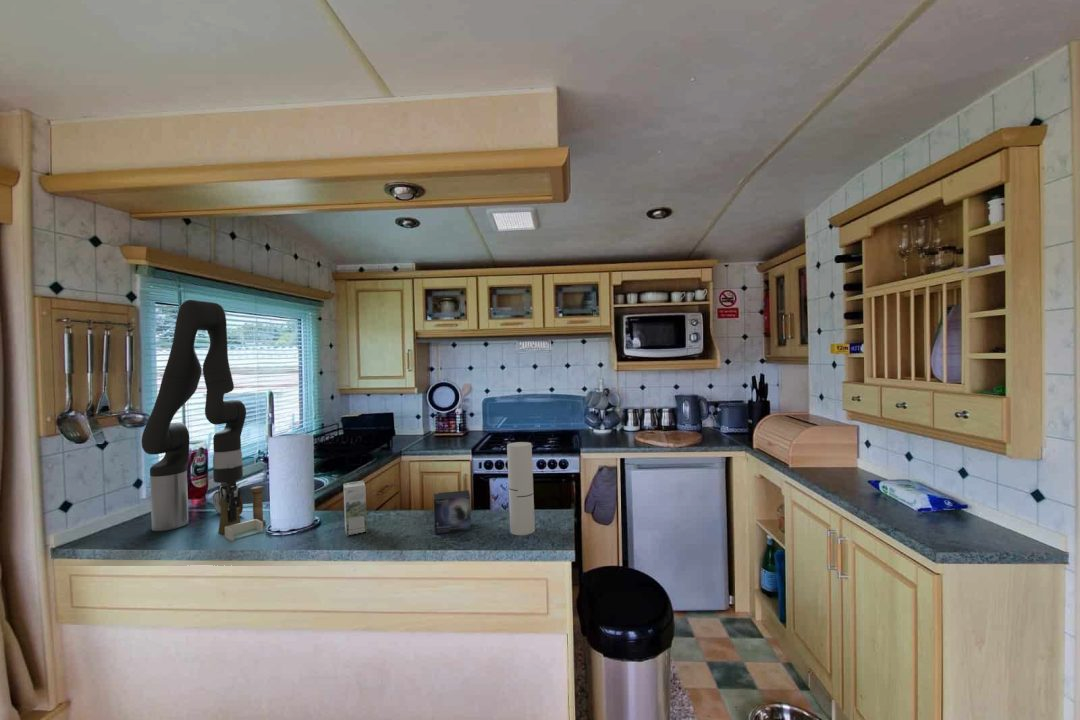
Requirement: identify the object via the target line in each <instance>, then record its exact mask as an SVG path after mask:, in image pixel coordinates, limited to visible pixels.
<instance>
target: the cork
mask: <svg viewBox="0 0 1080 720" xmlns="http://www.w3.org/2000/svg"><path fill="white" fill-rule="evenodd" d="M227 499H228V500H229V499H230V498H227ZM233 504H235V502H233V503H232V505H233ZM219 505H220V506H221V514H219V524H218V525H219V526H218V530H217V531H218V534H220V535H225V527H226V526H230V525H234V524H238V523H242V522H241V517H240V515H239V511H238V508H236V513H237V520H236V521H234V522H228V515H227V503H225V501H224V496H222V497H221V498H220V499H219Z"/></svg>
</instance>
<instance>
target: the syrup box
mask: <svg viewBox="0 0 1080 720" xmlns="http://www.w3.org/2000/svg"><path fill="white" fill-rule="evenodd" d="M366 489H367V488H366V484H365V482H364V480H359V481H352V482H351V481H350V482H344V483H343V511H344V512H343V514H344V517H343V519H344V531H345V535H346V537H350V536H349V535H351V536H355V535H354V534H356V535H359V534H358V533H361V534H364V533H363V532H366V533H368V530H367V529H368V527H367V524H368V523H367V522H368V521H367V493H366V492H367V490H366Z"/></svg>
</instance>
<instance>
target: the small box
mask: <svg viewBox="0 0 1080 720" xmlns="http://www.w3.org/2000/svg"><path fill="white" fill-rule="evenodd" d="M433 511H434V512H433V515H434V520H433V521H434V535H445V534H452V533H461V532H464V533H465V532H471V531H472V519H471V494H470V491H469V490H468V489H467V490H458V491H446V492H435V493H433Z"/></svg>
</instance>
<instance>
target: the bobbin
mask: <svg viewBox="0 0 1080 720" xmlns="http://www.w3.org/2000/svg"><path fill="white" fill-rule="evenodd" d="M264 488H265V487H264V486H262V485H259V486H258V485H257V486H253V487H251V488H249V489H250V491H249V492H250V493H252V517H253V519H258V520H260V521H262V522H263V525H264V526H265V524H266V525H267V521H266V519H265V520H264V509H263V508H264V507H263V505H264V504H263V491H264V490H265V489H264ZM253 519H252V520H253Z"/></svg>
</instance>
